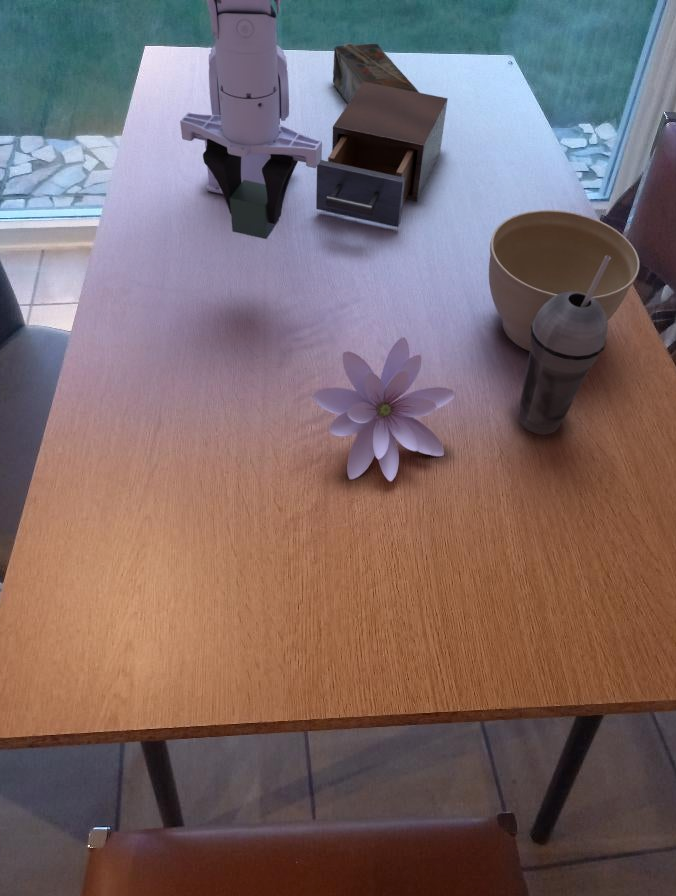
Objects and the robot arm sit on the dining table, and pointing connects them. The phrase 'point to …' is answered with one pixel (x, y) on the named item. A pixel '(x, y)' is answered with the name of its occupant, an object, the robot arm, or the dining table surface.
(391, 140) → the cabinet
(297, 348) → the dining table surface
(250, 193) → the block
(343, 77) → the beverage carton
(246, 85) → the robot arm
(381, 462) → the water lily
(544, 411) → the beverage cup
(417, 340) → the dining table surface
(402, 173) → the drawer
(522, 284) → the planter bowl
